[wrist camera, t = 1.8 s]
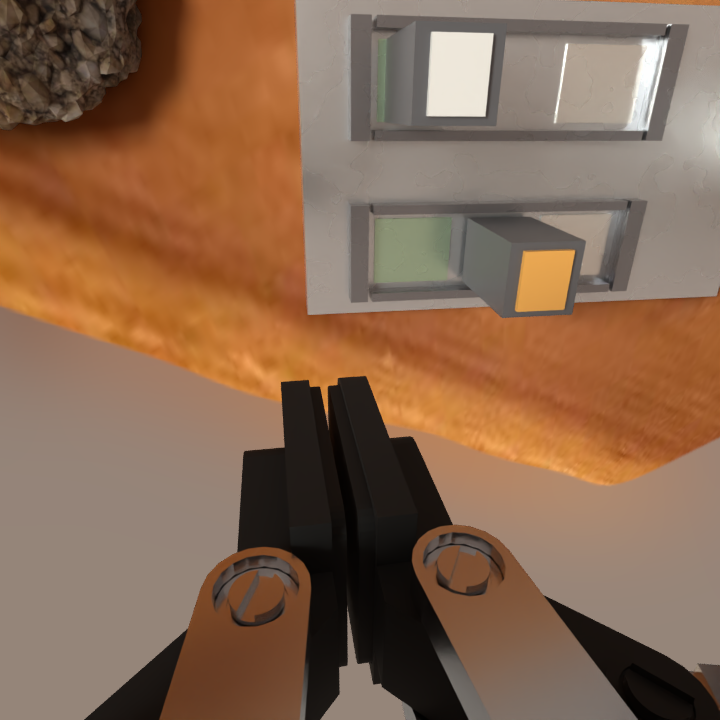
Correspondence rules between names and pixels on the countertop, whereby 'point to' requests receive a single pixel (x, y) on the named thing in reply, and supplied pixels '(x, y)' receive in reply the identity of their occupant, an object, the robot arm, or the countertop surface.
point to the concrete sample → (63, 56)
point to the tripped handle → (522, 266)
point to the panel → (513, 151)
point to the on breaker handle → (444, 74)
